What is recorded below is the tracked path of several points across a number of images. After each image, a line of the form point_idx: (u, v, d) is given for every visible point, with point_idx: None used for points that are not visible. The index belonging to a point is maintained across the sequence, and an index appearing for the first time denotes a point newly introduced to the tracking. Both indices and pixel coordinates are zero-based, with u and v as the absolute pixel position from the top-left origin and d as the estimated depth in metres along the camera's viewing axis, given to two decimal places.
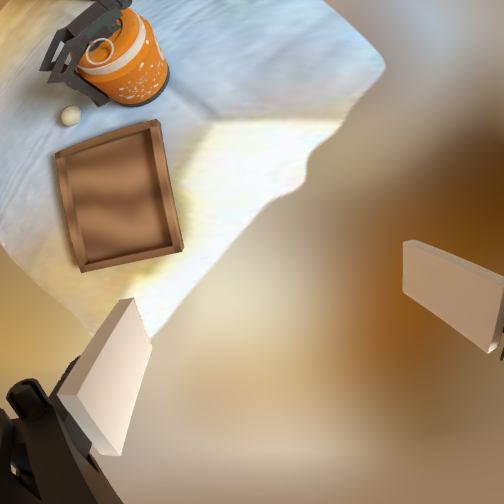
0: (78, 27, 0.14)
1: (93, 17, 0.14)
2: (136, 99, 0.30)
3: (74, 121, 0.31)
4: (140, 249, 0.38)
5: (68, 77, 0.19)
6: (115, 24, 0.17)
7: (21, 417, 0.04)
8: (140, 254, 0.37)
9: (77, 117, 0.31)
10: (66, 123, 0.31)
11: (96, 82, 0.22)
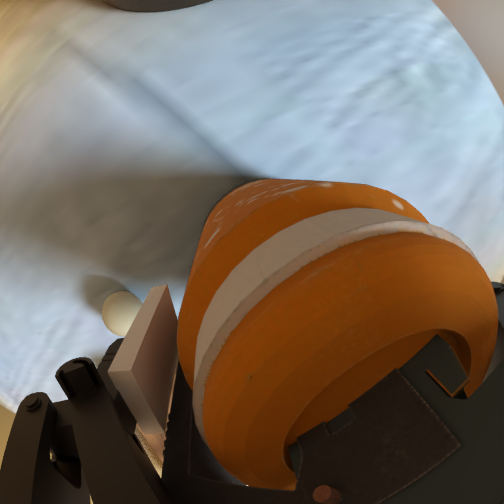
0: None
1: None
2: None
3: None
4: None
5: None
6: None
7: (69, 396, 0.06)
8: None
9: None
10: (119, 335, 0.18)
11: None
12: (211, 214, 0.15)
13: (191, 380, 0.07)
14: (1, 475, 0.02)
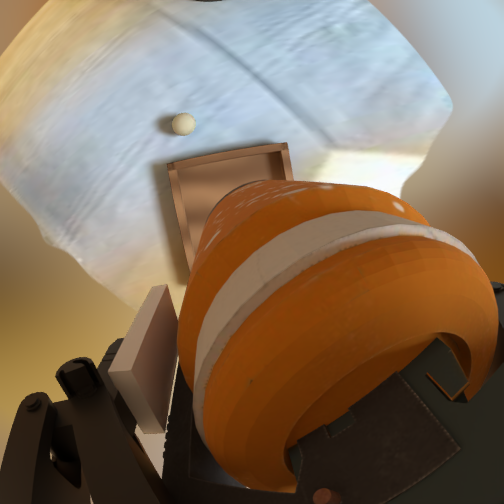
0: None
1: None
2: None
3: (190, 131, 0.34)
4: None
5: None
6: None
7: (69, 395, 0.06)
8: None
9: (193, 127, 0.34)
10: (180, 132, 0.34)
11: None
12: (211, 215, 0.15)
13: (191, 382, 0.07)
14: (1, 475, 0.02)
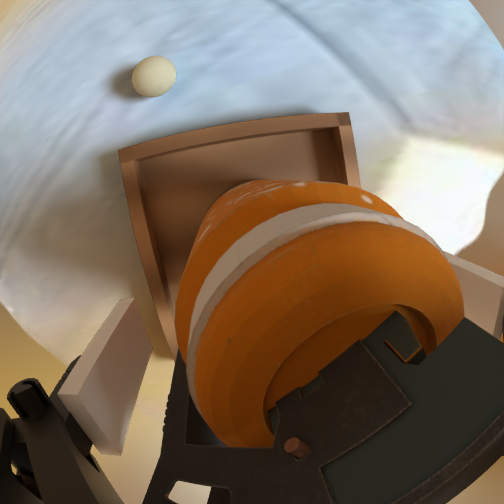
0: None
1: (450, 496, 0.02)
2: None
3: (164, 87, 0.16)
4: None
5: None
6: None
7: (22, 417, 0.04)
8: None
9: (171, 80, 0.16)
10: (146, 89, 0.16)
11: None
12: (206, 214, 0.16)
13: None
14: None
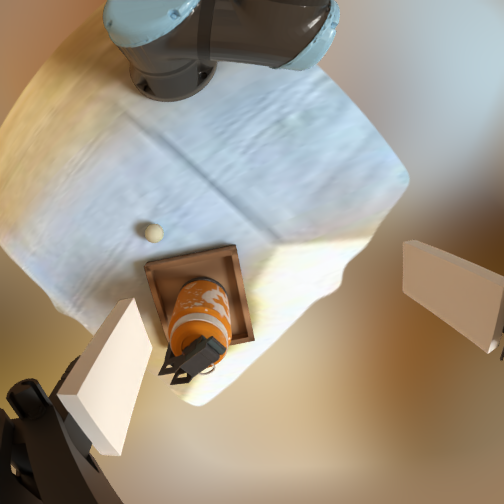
0: (191, 370, 0.32)
1: (202, 365, 0.32)
2: None
3: (159, 240, 0.46)
4: None
5: None
6: None
7: (21, 417, 0.04)
8: None
9: (161, 237, 0.46)
10: (152, 242, 0.45)
11: None
12: (178, 295, 0.46)
13: None
14: None
